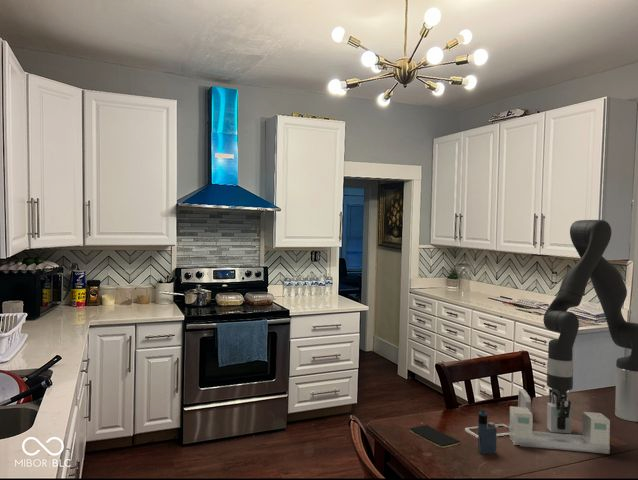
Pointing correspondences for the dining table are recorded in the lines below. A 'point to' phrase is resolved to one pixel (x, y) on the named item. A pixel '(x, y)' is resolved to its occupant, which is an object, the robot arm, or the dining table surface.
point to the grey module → (553, 420)
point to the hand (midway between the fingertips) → (558, 426)
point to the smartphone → (434, 436)
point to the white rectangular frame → (477, 427)
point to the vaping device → (486, 434)
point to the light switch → (524, 399)
